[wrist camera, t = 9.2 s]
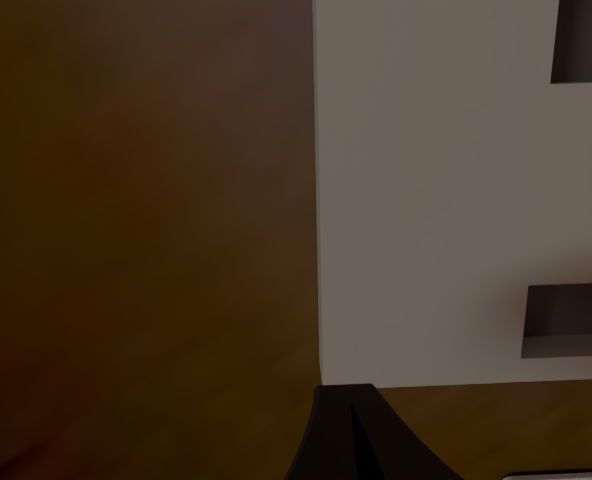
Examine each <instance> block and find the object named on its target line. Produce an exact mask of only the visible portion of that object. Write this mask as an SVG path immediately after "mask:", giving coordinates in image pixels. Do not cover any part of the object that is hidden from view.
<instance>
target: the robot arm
mask: <svg viewBox="0 0 592 480" xmlns="http://www.w3.org/2000/svg"><path fill="white" fill-rule="evenodd" d="M313 392H314V399H313V406H312V410H311V414H310V418H309V422H308V424H307V427H306V430H305V433H304V436H303V439H302V442H301V444H300V447H299V449H298V451H297V453H296V455H295V458H294V460H293V462H292V464H291V467H290V469H289V471H288V473H287V475H286V476H285V478H284V480H464V479H463V478H461V477H460V476H459V475H458V474H456V473H455V472H454V471H453V470H452V469H451V468H449V467H448V466H447V465H446V464H445V463H444V462H443V461H442V460H441V459H440V458H439V457H438V456H436V455H435V454H434V453H433V452H432V451H431V450H430V449H429V448H428V447H427V446H426V445H425V444H424V443H423V442H422V441H421V440H420V439H419V438H418V436H417V435H416V434H415V433H414V432H413V431H412V430H411V429H410V428H409V427H408V426H407V425H406V424H405V422H404V421H403V420H402V419H401V418H400V417H399V416H398V414H397V413H396V412H395V411H394V410H393V408H392V407H391V406H390V405H389V404H388V402H387V401H386V400H385V399H384V397H383V396H382V395H381V393H380V392H379V391H378V389H377V388H376V387H375V386H374V385H373V384H372V383H365V384H341V385H318V386H317V387H316V388H315V389H314V390H313ZM503 480H592V472H591V473H569V474H547V475H525V476H509V477H506V478H504V479H503Z"/></svg>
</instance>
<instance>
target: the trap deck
mask: <svg viewBox="0 0 592 480" xmlns="http://www.w3.org/2000/svg"><path fill="white" fill-rule="evenodd" d="M312 7H313V57H314V108H315V158H316V208H317V259H318V309H319V360H320V370H321V378H322V385H341V384H365V383H372V384H373V385H374V386H375V387H376V388H387V387H411V386H435V385H459V384H482V383H506V382H530V381H553V380H577V379H592V0H312Z"/></svg>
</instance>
